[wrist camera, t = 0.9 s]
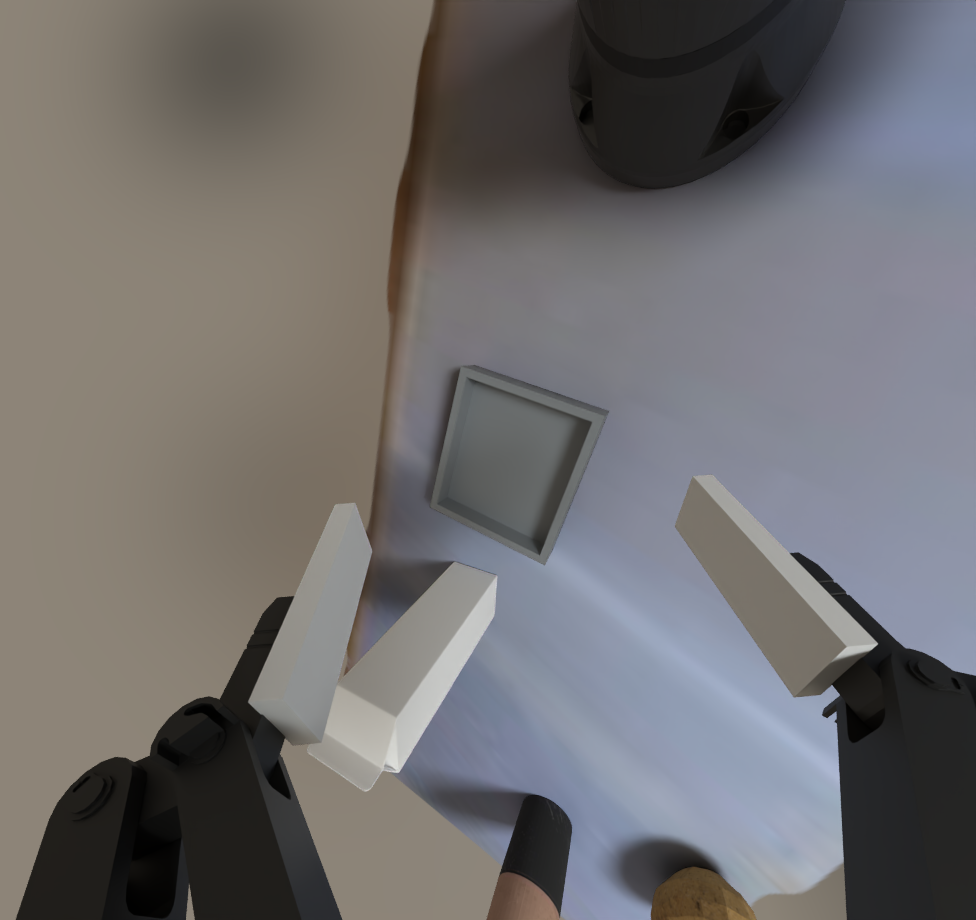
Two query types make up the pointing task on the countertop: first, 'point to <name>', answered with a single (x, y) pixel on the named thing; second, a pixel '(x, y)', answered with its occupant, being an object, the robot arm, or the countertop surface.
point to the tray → (513, 459)
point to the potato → (698, 898)
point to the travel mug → (534, 864)
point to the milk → (405, 677)
